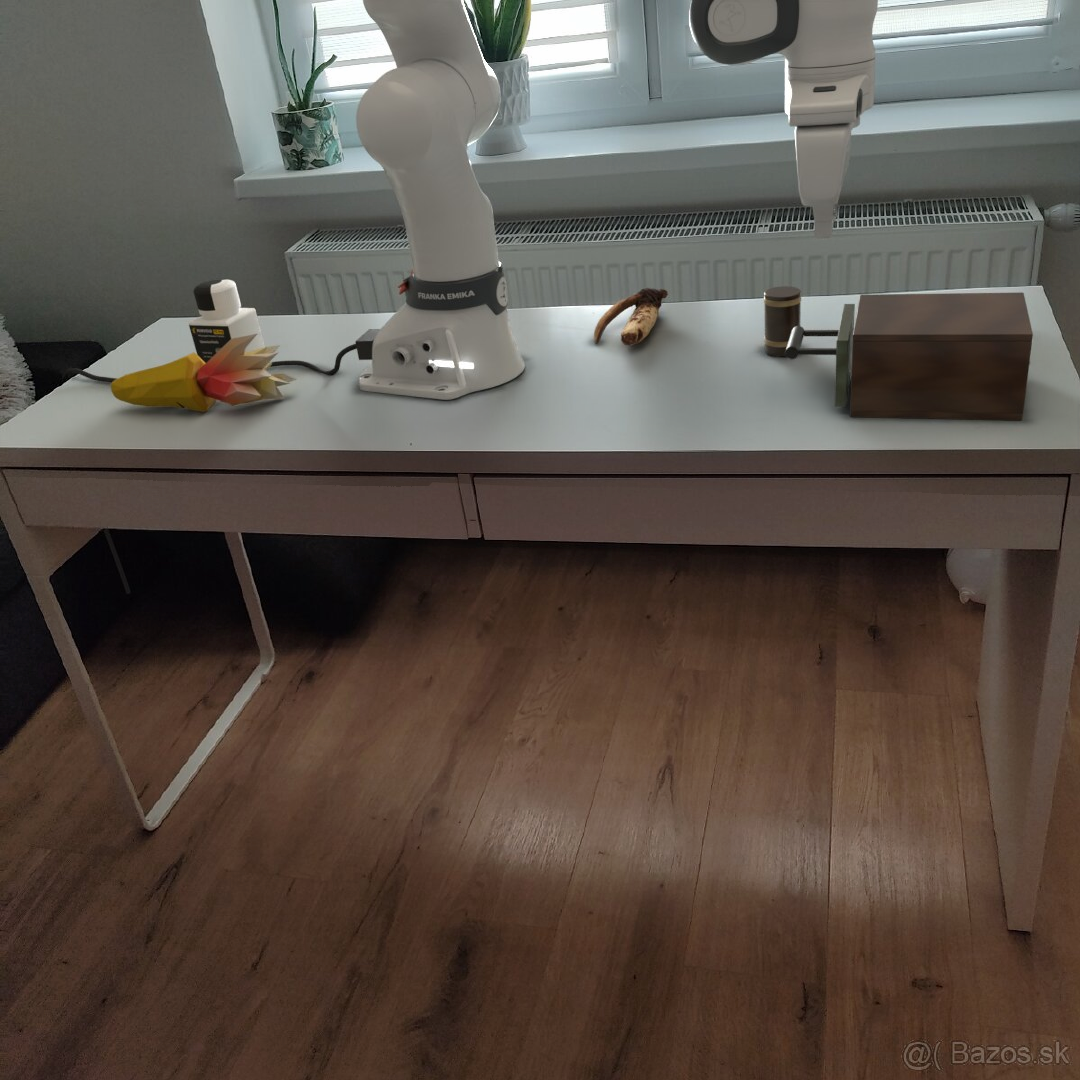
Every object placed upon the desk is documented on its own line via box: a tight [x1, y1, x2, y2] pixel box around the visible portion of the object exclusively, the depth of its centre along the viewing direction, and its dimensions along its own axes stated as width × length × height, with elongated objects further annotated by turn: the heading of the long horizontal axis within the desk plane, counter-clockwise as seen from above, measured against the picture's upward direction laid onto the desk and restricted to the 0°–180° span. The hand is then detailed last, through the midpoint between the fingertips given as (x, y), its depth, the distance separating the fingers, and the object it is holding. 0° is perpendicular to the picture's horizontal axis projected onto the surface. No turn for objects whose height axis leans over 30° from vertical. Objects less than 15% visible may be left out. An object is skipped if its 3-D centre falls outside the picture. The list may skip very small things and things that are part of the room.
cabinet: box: [849, 291, 1034, 421], centre depth 119 cm, size 18×14×10 cm
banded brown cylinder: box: [763, 285, 802, 357], centre depth 136 cm, size 5×5×8 cm
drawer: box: [785, 303, 856, 408], centre depth 120 cm, size 22×12×8 cm, turn 73°
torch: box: [110, 334, 298, 413], centre depth 142 cm, size 8×8×25 cm
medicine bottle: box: [188, 278, 266, 363], centre depth 156 cm, size 7×7×12 cm
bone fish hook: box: [593, 287, 669, 346], centre depth 150 cm, size 9×5×18 cm
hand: (825, 228), depth 115 cm, fingers open, 5 cm apart
